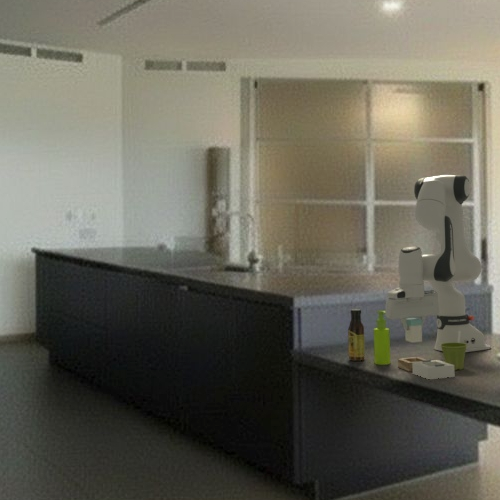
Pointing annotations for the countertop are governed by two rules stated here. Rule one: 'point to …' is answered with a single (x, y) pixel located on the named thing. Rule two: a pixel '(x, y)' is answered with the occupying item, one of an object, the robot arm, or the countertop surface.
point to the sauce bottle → (356, 336)
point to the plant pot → (454, 354)
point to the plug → (414, 330)
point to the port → (433, 369)
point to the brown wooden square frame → (408, 362)
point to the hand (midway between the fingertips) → (413, 329)
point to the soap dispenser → (381, 341)
